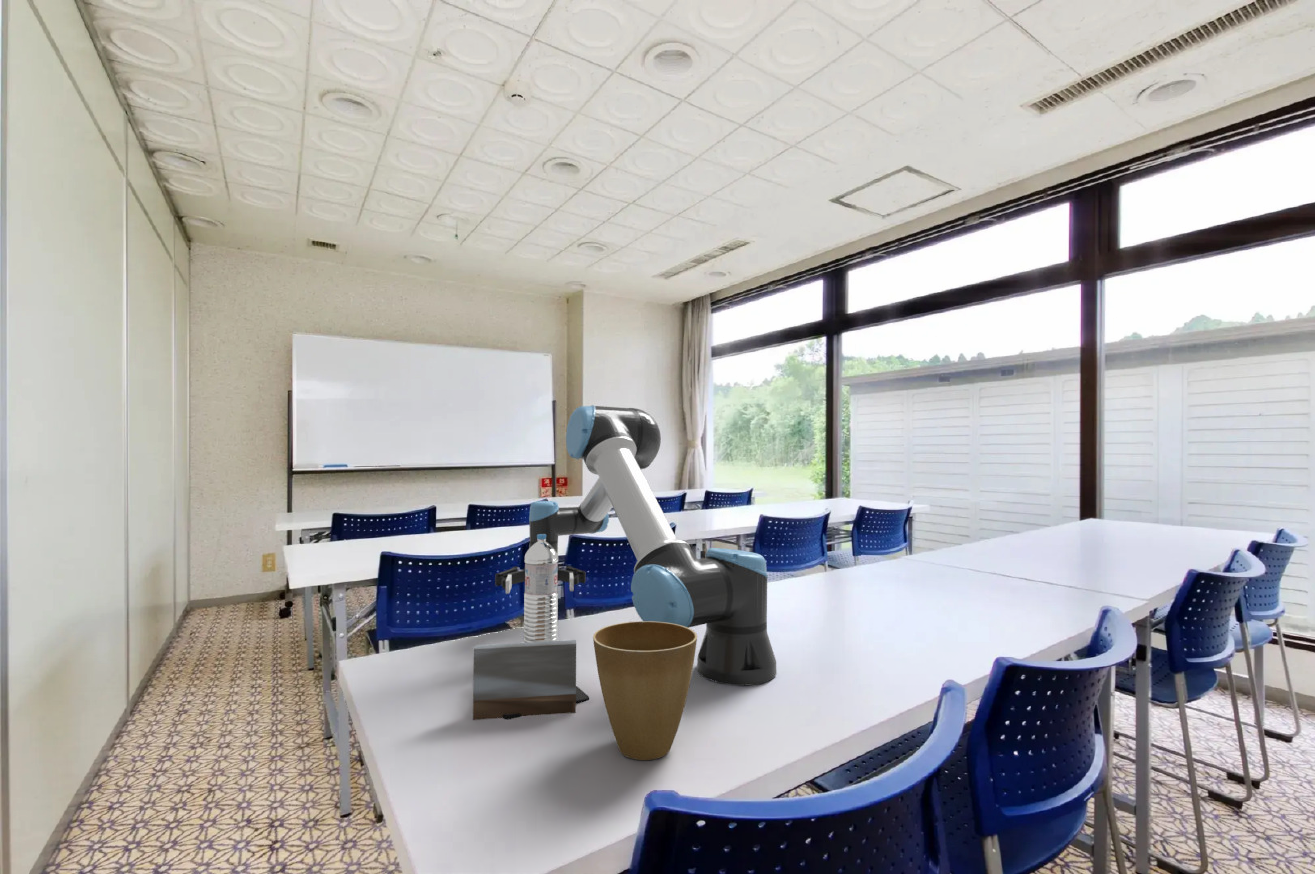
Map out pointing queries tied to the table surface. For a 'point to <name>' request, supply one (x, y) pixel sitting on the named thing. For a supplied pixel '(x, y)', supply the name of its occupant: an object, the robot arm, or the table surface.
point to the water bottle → (541, 592)
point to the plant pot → (645, 683)
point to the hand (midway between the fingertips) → (539, 586)
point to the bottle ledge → (524, 679)
